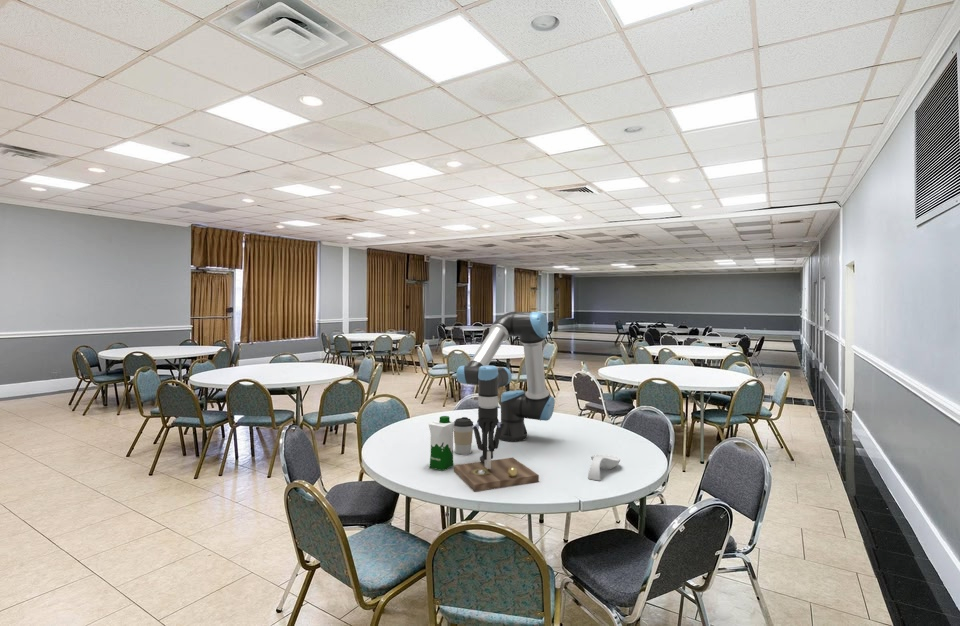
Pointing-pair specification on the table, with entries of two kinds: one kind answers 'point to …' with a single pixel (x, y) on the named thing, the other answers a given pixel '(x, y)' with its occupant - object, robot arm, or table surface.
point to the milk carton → (441, 443)
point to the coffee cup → (463, 435)
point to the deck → (495, 474)
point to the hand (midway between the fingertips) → (487, 467)
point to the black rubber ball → (482, 459)
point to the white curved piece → (601, 465)
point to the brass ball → (512, 471)
